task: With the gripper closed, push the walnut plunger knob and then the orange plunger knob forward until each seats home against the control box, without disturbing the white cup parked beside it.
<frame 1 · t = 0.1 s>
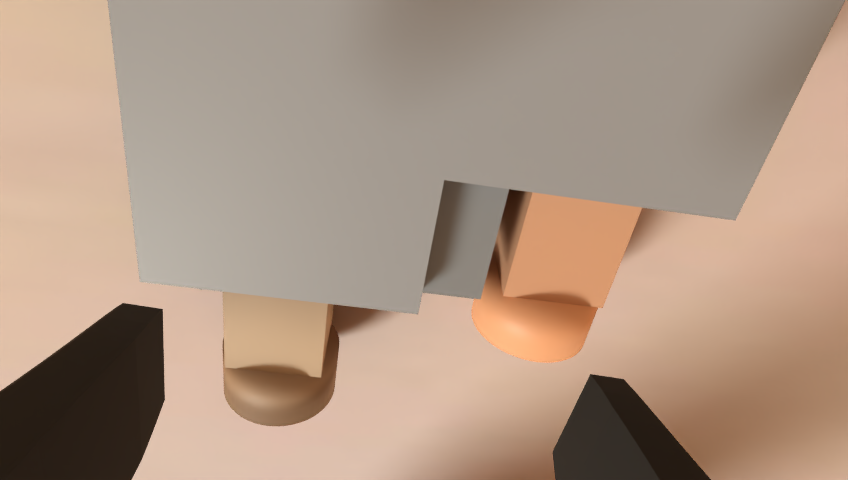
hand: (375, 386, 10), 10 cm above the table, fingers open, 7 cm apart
orange knob: (575, 172, 17), point 2 cm above the table, slide at 0.0 cm
walnut knob: (286, 254, 18), point 2 cm above the table, slide at 0.0 cm
control box: (422, 197, 19), on the table
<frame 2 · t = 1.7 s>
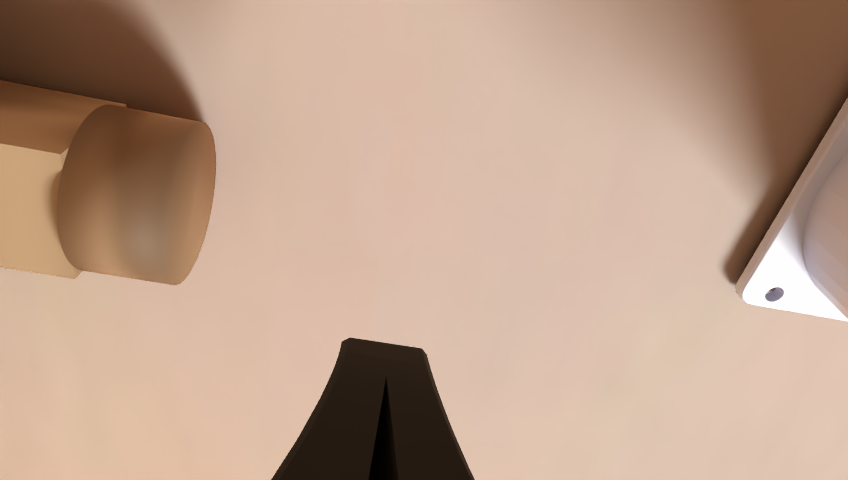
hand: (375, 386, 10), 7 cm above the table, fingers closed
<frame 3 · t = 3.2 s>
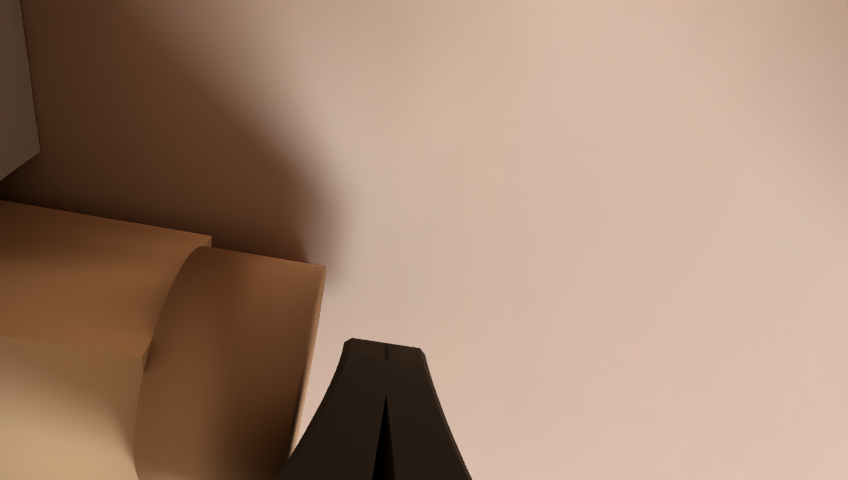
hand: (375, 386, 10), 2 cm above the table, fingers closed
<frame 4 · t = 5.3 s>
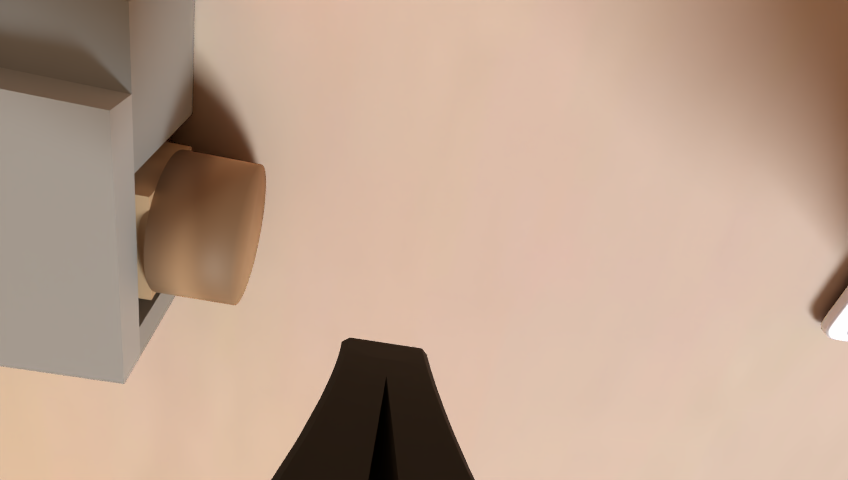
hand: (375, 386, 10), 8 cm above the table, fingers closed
walnut knob: (31, 195, 15), point 2 cm above the table, slide at 3.8 cm
control box: (153, 39, 15), on the table
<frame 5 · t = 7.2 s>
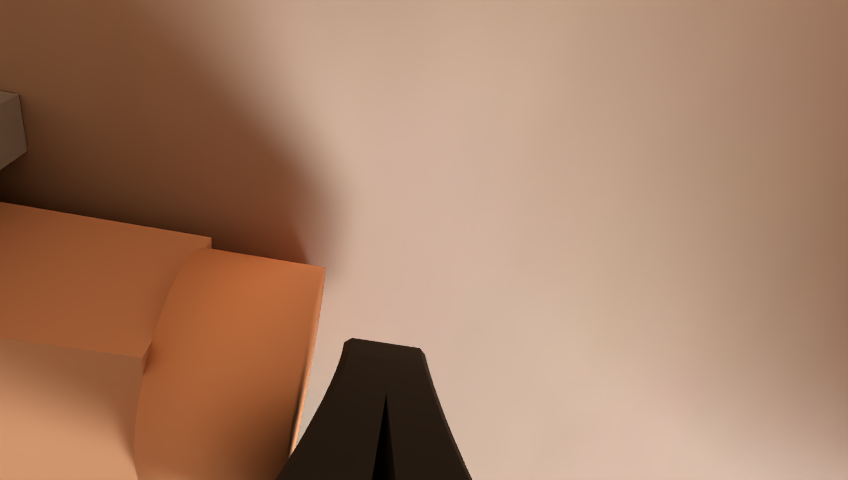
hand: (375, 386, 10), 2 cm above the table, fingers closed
control box: (203, 424, 13), on the table
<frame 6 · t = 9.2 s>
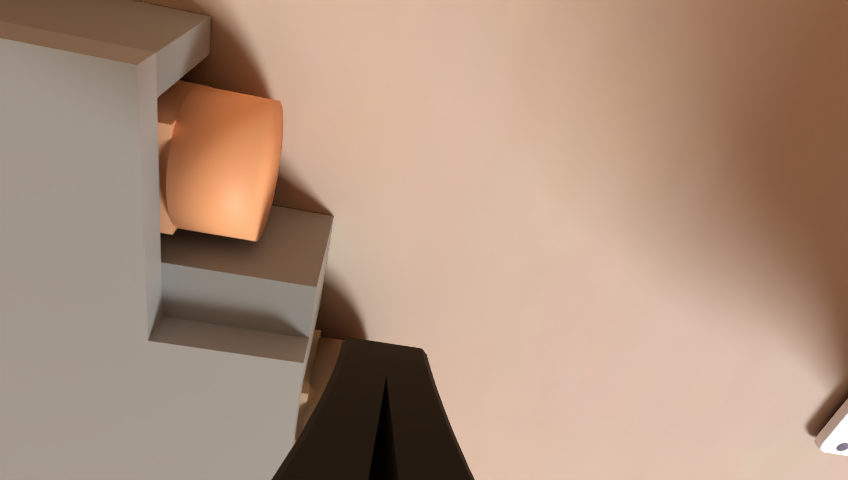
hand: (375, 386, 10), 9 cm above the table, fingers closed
orange knob: (52, 132, 15), point 2 cm above the table, slide at 3.8 cm
walnut knob: (205, 377, 20), point 2 cm above the table, slide at 3.8 cm
control box: (297, 256, 20), on the table
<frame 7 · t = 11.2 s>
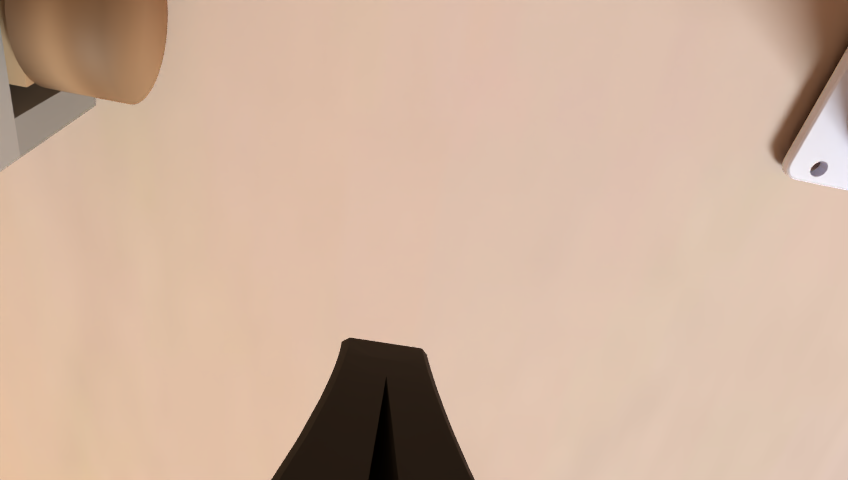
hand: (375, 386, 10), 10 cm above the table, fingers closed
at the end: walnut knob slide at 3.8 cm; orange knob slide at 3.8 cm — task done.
